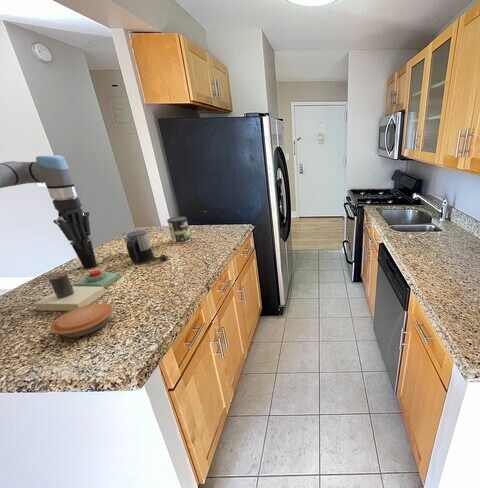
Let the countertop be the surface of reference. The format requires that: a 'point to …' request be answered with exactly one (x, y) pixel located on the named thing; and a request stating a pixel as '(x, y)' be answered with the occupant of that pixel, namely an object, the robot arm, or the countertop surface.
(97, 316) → the pie
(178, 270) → the countertop surface
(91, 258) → the drinking cup
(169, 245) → the countertop surface
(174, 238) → the coffee can
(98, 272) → the button
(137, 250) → the milk frother
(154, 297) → the countertop surface
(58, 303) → the hob console
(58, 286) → the hob knob
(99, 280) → the red push button panel
